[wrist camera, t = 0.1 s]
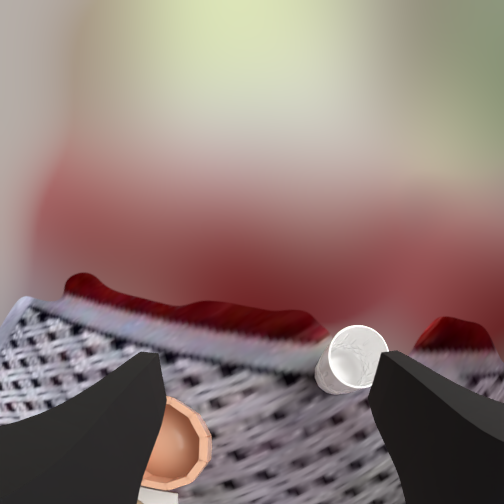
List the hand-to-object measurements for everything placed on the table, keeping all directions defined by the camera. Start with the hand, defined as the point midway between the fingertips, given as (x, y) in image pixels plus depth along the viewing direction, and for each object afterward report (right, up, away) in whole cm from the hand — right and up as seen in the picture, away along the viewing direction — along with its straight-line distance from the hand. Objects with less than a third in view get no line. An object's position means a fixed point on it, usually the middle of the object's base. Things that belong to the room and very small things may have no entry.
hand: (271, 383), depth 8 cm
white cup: (+12, -14, +30) cm, 35 cm away
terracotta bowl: (-12, -22, +23) cm, 34 cm away
